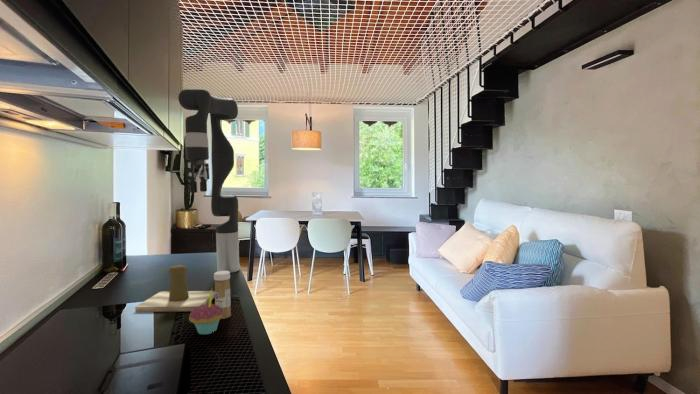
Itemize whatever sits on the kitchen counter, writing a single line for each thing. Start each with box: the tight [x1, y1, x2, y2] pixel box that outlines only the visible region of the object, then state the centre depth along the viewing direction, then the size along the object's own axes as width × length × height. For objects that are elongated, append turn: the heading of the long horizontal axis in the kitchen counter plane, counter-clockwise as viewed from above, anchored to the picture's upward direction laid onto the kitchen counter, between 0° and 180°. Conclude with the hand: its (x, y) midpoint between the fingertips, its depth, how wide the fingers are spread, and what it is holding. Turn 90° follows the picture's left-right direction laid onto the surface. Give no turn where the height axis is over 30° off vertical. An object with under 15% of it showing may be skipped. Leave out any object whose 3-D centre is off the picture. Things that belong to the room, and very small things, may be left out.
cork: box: [168, 264, 189, 302], centre depth 122 cm, size 6×6×11 cm
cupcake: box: [188, 288, 223, 335], centre depth 99 cm, size 9×8×12 cm
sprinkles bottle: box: [213, 271, 232, 320], centre depth 109 cm, size 5×5×13 cm
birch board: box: [134, 290, 215, 313], centre depth 122 cm, size 15×20×2 cm
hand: (198, 192), depth 131 cm, fingers open, 8 cm apart
